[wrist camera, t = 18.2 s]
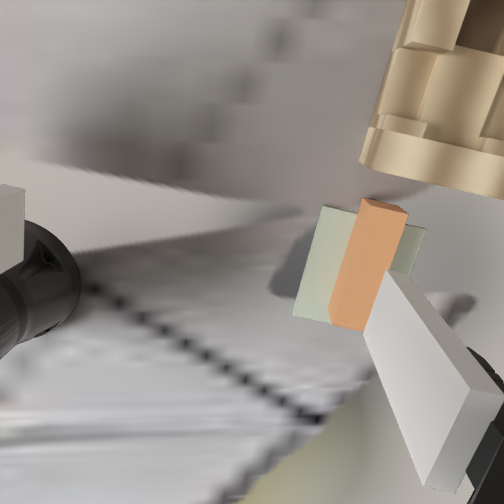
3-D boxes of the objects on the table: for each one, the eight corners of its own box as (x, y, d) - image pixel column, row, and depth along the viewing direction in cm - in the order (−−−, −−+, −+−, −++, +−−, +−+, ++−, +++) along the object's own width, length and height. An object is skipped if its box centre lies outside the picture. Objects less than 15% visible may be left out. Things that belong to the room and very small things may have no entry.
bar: (327, 308, 49) (331, 324, 45) (362, 197, 45) (370, 205, 41) (359, 315, 49) (366, 332, 46) (397, 205, 45) (408, 214, 41)
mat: (292, 313, 50) (292, 315, 50) (322, 205, 46) (323, 206, 45) (385, 333, 51) (386, 336, 50) (425, 228, 46) (427, 229, 45)
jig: (358, 161, 44) (372, 170, 38) (441, -114, 36) (475, -160, 30) (474, 188, 44) (506, 200, 38) (582, -80, 36) (645, -118, 30)
